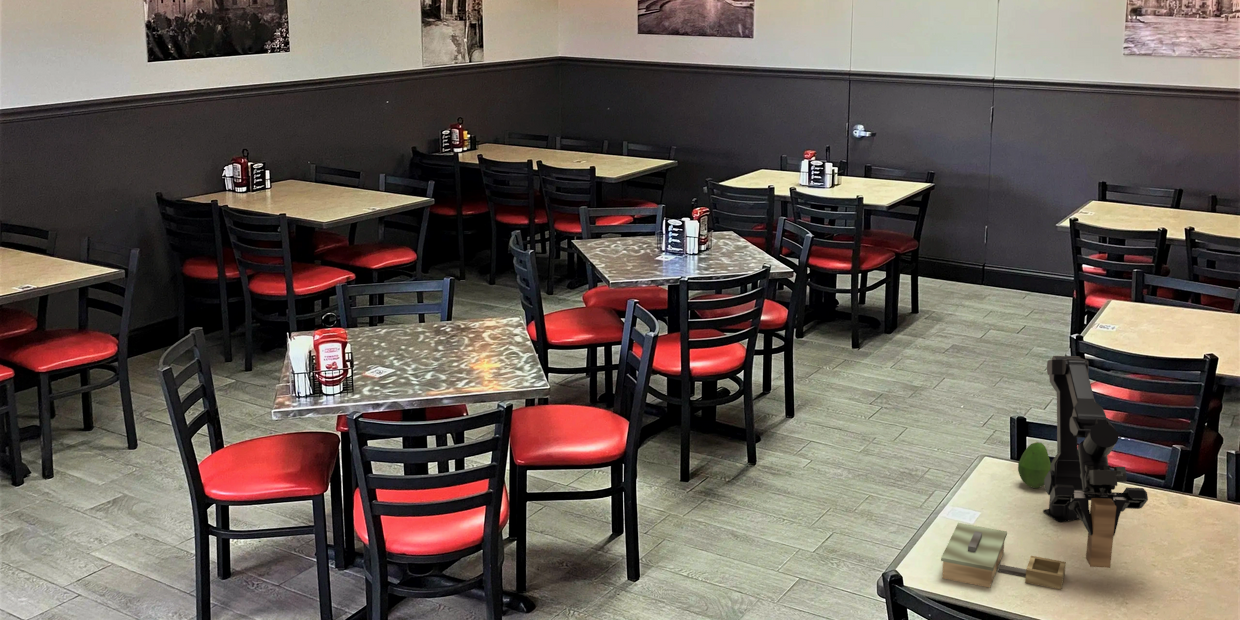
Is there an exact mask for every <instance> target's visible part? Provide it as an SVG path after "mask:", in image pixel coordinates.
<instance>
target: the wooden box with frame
mask: <svg viewBox="0 0 1240 620" xmlns="http://www.w3.org/2000/svg"><path fill="white" fill-rule="evenodd" d="M1007 535H1008V531H1007V530H1001V529H997V528H990V527H986V526H978V525H974V524H970V523H969V524H968V523H962V522H958V523H957V525H956V526H955V529H954V530H953V533H952V535H951V537H950V539H949V541H948V543H947V545H946V547H945V548H944V551H943V553H942V555H941V557H940V562H942V576H941V578H942V579H945V580H949V581H955V582H959V583H965V584H971V585H975V586H980V587H983V588H984V587H985V588H991V586H992V584H993V581H994V578H995V575H996V573H997V572H999V573H1004V574H1009V575H1015V576H1019V577H1024V578H1025V582H1024V583H1026V584H1030V585H1035V586H1036V585H1037V586H1042V587H1045V588H1046V587H1047V588H1051V589H1056V590H1062V587H1063V582H1064V579H1065V575H1066V565H1067V562H1066V561H1064V560H1057V559H1052V558H1046V557H1040V556H1036V555H1030V557H1029V560H1028V563H1027V567H1026V568H1021V567H1015V566H1011V565H1005V564H1000V563H1001V560H1002V557H1003V555H1004V551H1005V541H1006V538H1007Z"/></svg>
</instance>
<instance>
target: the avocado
mask: <svg viewBox="0 0 1240 620" xmlns="http://www.w3.org/2000/svg"><path fill="white" fill-rule="evenodd" d="M1050 464H1051V461H1050V457H1049V453H1048V449H1047V448H1046V445H1045V444H1044V443H1042V442H1039V441H1036V442H1032V443H1030V444H1028V446H1027V447H1026V449H1025V450H1024V452H1023V453H1022V454H1021V456H1020V459H1019V460H1018V463H1017V466H1018V467H1017V472H1018V475H1019V477H1020V479H1021V480H1022V482H1023V483H1024V484H1025V485H1026V486H1028V487H1029V488H1032V489H1039V488H1041V487H1044V479H1045V477H1046V475H1047V473H1048V472H1049V471H1050Z"/></svg>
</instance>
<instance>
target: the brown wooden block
mask: <svg viewBox="0 0 1240 620" xmlns="http://www.w3.org/2000/svg"><path fill="white" fill-rule="evenodd" d="M1089 512H1090V517H1091V522H1092V527H1093V535H1090V534H1089V533H1088V532H1087V542H1086V551H1085V560H1086V562H1087V563H1088V565H1089V567H1090V568H1106V569H1108V568H1110V569H1111V565H1112V564H1111V561H1112V553H1113V544H1114V543H1113V542H1114V536H1115V535H1114V525H1115V515H1116V505H1115V504H1114V502H1113V501H1112V499H1105V498H1091V500H1090V507H1089ZM1113 535H1114V536H1113Z"/></svg>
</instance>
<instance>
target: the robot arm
mask: <svg viewBox="0 0 1240 620" xmlns="http://www.w3.org/2000/svg"><path fill="white" fill-rule="evenodd" d="M1046 372H1047V373H1046V374H1047V375H1049V377H1048V378H1049V383H1050V385H1051V386H1052V387H1053V389H1054V391H1055V393H1056V439H1057V440H1056V442H1057V444H1056V445H1057V446H1056V448H1057V450H1056V451H1057V452H1056V454H1055V457H1054V458H1053V459H1052V461H1050V463H1051V464H1050V471H1049V472H1048V473H1047V475H1046V477H1045V479H1044V485H1043V488H1044V489H1045V491H1046V494H1047V495H1048V496H1049V503H1048V508H1046V509H1043V510H1042V512H1043V513H1044V514H1045V515H1047V516H1049V517H1050V518H1051V519H1053V520H1055V521H1056V522H1058V523H1066V522H1071V521H1077V520H1080V521H1081V522H1082V524H1083V526H1084V527H1085V529H1086V531H1087V534H1088V533H1089V534H1090V535H1093V527H1092V522H1091V517H1090V506H1089V505H1090V504H1089V503H1090V502H1089V501H1091V498H1105V499H1112V501H1113V502H1114V504H1115V505H1116V515H1115V525H1114V535H1113V537H1115V536H1116V531H1117V528H1118V522H1119V520H1120V519H1119V518H1120V516H1121V512H1125V510H1126V509H1132V510H1133V509H1134V510H1138V509H1143V507H1144V506H1145V504H1147V502H1148V500H1149V497H1148V492H1147V491H1146V489H1144V488H1143V487H1126V488H1125V489H1124V491H1123V492H1117V491H1116V492H1114V491H1113V490H1115V489H1116V487H1118V483H1126V482H1127V471H1126V467H1125V466H1114V468H1113V470H1111V467H1110V465H1109V459H1108V455H1110V454H1111V452H1112V450H1113V449H1114V447H1115V446H1116V444H1117V443H1118V442H1119V432H1118V431H1117V429H1116V428H1115V427H1114V425H1112V423H1111V421H1110V419H1109V418H1108V417H1107V414H1106V413H1105V410H1104V407H1102V406H1101V405H1100V404H1099V403H1097V402H1096V399H1095V396H1094V392H1093V387H1092V386H1091V385H1092V384H1091V379H1090V377H1089V360H1087V359H1084V358H1082V357H1081V356H1077V355H1076V356H1074V355H1053V356H1052V357H1051V359H1048V360H1047V362H1046ZM1078 438H1082V439H1083V438H1084V439H1083V440H1081V441H1080V443H1079V444H1078Z"/></svg>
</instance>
